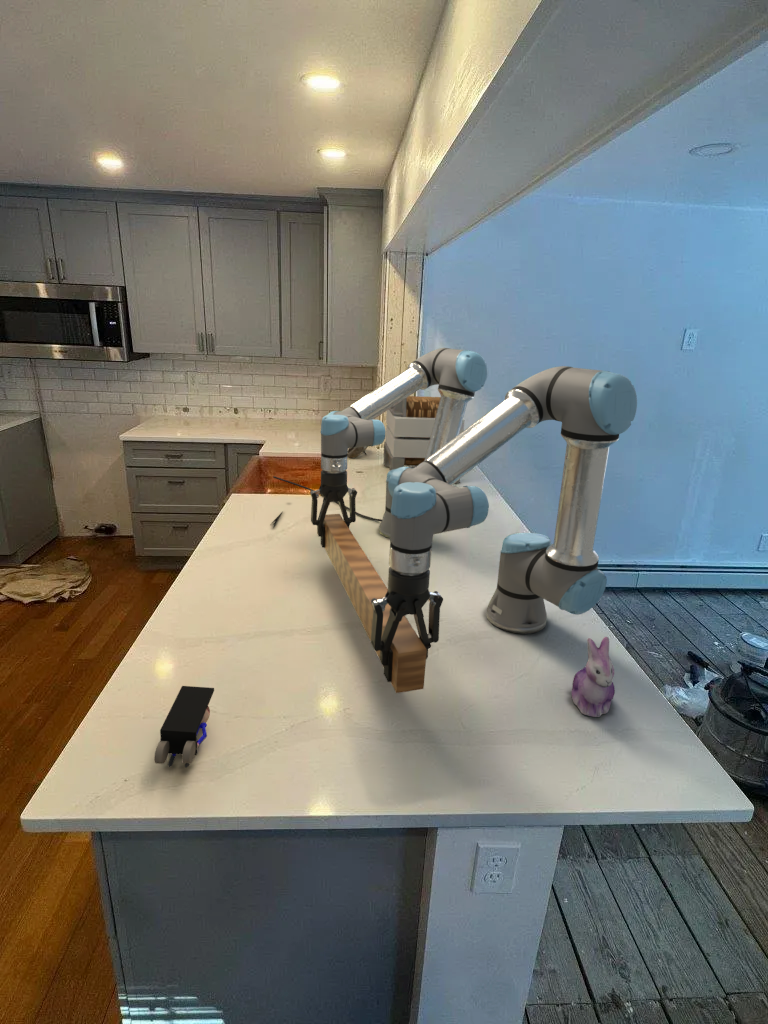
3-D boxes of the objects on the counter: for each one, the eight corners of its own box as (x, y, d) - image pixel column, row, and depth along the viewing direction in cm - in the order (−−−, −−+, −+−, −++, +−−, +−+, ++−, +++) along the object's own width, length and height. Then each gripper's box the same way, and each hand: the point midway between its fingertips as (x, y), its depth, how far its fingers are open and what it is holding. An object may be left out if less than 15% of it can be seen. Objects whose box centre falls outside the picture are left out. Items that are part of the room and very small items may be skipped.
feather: (289, 506, 225) (292, 502, 225) (272, 529, 199) (275, 525, 198) (286, 503, 225) (288, 500, 225) (268, 527, 199) (271, 522, 198)
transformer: (382, 463, 289) (386, 382, 275) (445, 464, 293) (451, 384, 279) (390, 482, 257) (394, 392, 243) (460, 483, 261) (468, 394, 247)
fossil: (347, 441, 314) (368, 426, 309) (358, 454, 317) (379, 439, 312) (341, 455, 294) (363, 439, 289) (352, 469, 297) (375, 453, 292)
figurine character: (196, 782, 95) (218, 713, 108) (191, 750, 92) (215, 683, 105) (155, 781, 95) (183, 712, 108) (149, 749, 91) (178, 682, 105)
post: (321, 541, 173) (321, 514, 170) (339, 540, 174) (339, 513, 171) (396, 693, 106) (398, 653, 103) (423, 689, 108) (426, 649, 105)
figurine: (594, 725, 110) (608, 660, 105) (557, 694, 119) (568, 632, 114) (628, 712, 114) (643, 648, 109) (590, 683, 123) (602, 622, 118)
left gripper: (303, 475, 155) (304, 552, 163) (369, 472, 161) (366, 547, 169) (299, 467, 162) (299, 542, 170) (362, 465, 168) (359, 537, 176)
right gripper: (365, 582, 97) (361, 694, 105) (465, 571, 102) (454, 679, 110) (354, 563, 103) (351, 670, 111) (448, 554, 109) (439, 657, 117)
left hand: (333, 544), depth 169 cm, fingers closed on post, 6 cm apart
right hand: (402, 674), depth 111 cm, fingers closed on post, 6 cm apart
